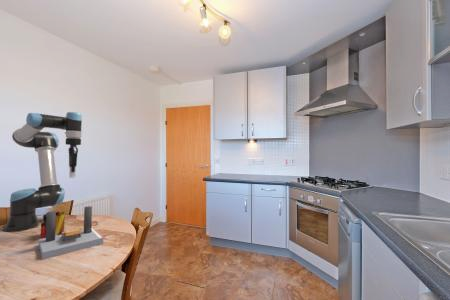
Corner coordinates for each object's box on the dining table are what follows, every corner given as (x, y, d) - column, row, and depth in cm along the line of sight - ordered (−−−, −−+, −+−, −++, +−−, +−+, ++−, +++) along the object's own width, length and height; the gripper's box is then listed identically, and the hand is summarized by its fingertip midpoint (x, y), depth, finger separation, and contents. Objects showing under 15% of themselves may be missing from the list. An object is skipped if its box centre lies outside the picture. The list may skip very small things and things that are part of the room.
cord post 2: (82, 232, 117) (83, 207, 117) (90, 230, 119) (91, 205, 120) (84, 234, 114) (85, 208, 115) (92, 232, 117) (92, 207, 117)
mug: (40, 242, 109) (41, 219, 110) (43, 234, 121) (43, 213, 121) (63, 238, 115) (64, 216, 115) (64, 231, 126) (65, 211, 127)
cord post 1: (45, 240, 105) (46, 212, 106) (54, 238, 108) (55, 210, 108) (46, 242, 103) (46, 213, 103) (55, 240, 105) (56, 212, 106)
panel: (38, 245, 106) (39, 231, 107) (92, 233, 123) (93, 221, 124) (42, 259, 92) (43, 243, 93) (103, 243, 109) (103, 230, 110)
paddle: (62, 235, 110) (62, 232, 110) (76, 232, 114) (76, 229, 115) (66, 236, 102) (66, 232, 102) (81, 232, 106) (81, 229, 106)
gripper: (63, 138, 128) (62, 177, 128) (67, 137, 119) (66, 179, 118) (78, 139, 133) (77, 176, 133) (83, 138, 124) (82, 178, 124)
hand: (72, 177), depth 126 cm, fingers closed
